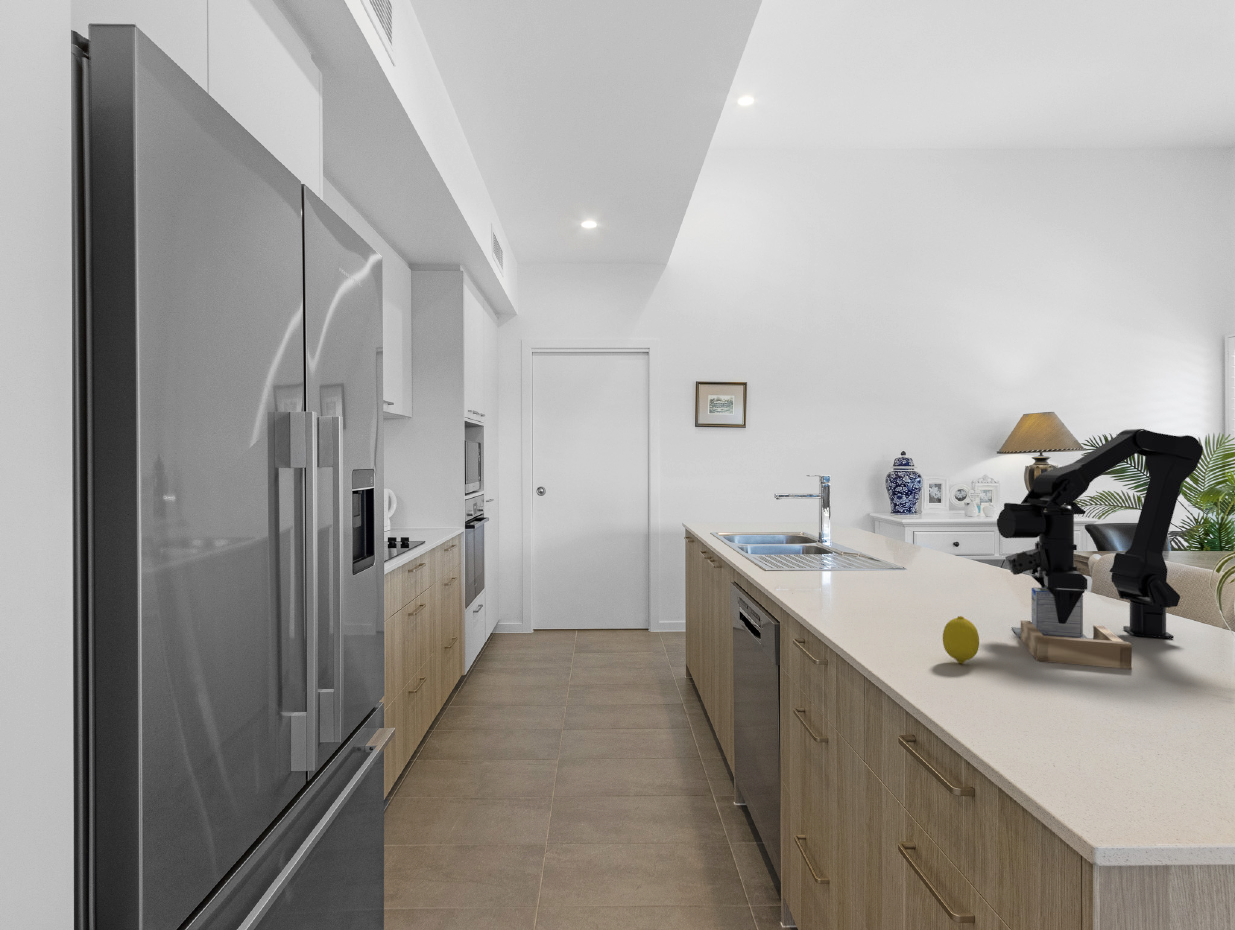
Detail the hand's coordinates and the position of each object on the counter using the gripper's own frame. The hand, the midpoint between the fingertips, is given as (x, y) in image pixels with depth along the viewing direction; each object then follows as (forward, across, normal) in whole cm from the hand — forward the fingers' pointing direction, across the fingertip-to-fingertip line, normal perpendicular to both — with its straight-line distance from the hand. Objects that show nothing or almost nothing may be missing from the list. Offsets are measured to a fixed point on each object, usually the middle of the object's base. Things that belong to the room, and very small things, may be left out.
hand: (1056, 618), depth 134 cm
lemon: (+4, +26, -19) cm, 32 cm away
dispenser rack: (+4, +12, 0) cm, 12 cm away
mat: (+4, 0, -1) cm, 4 cm away
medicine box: (+3, 0, 0) cm, 3 cm away
